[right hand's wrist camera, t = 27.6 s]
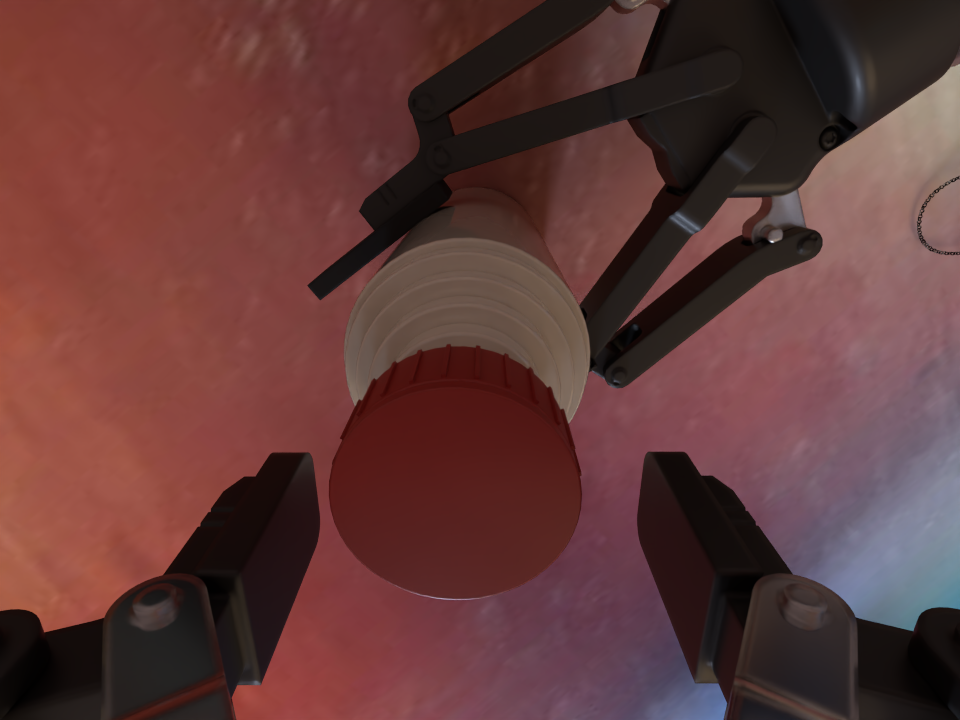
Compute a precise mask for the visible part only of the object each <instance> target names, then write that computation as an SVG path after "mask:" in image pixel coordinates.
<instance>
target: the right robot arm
mask: <svg viewBox="0 0 960 720" xmlns="http://www.w3.org/2000/svg"><path fill="white" fill-rule="evenodd" d="M637 527H638V535H639V540H640V544H641V547H642V549H643V552H644V554H645V557H646V559H647V562H648V564H649V567H650V570H651V572H652V575H653V577H654V580H655V582H656V585H657V587H658V590H659V592H660V595H661V598H662V600H663V603H664V605H665V608H666V610H667V613H668V615H669V618H670V620H671V623H672V626H673V628H674V631H675V633H676V636H677V638H678V641H679V643H680V646H681V648H682V651H683V653H684V656H685V659H686V661H687V664H688V666H689V669H690V671H691V674H692V676H693V679H694V681H695V683H719V685H720V688H721V690H722V692H723V695H724V697H725V699H726V701H727V707H726V711H725V716H724V720H960V610H959V609H953V608H943V607H938V608H931V609H928V610H925V611H924V612H922V613H921V615H920V616H919V618H918V620H917V623H916V626H915V628H914V631H909V630H905V629H901V628H897V627H892V626H888V625H884V624H880V623H875V622H871V621H867V620H863V619H859V618H855V615H854V613H853V611H852V610H851V608H850V607H849V606H848V604H847V603H846V602H845V601H844V600H843V599H842V598H841V597H839V596H838V595H837V594H836V593H834V592H833V591H832V590H830V589H829V588H827V587H825V586H823V585H822V584H820V583H817V582H815V581H813V580H810V579H808V578H805V577H801V576H798V575H793V574H792V572H791V571H790V569H789V568H788V567H787V565H786V564H785V562H784V561H783V560H782V558H781V557H780V555H779V554H778V553H777V551H776V550H775V548H774V547H773V546H772V544H771V543H770V541H769V540H768V539H767V537H766V536H765V534H764V533H763V532H762V530H761V529H760V527H759V526H756V522H755V520H754V519H753V518H752V516H751V515H750V513H749V512H748V511H746V510H745V506H744V505H743V504H742V502H741V501H740V499H739V498H738V497H737V495H736V494H735V492H734V491H733V490H732V489H730V488H729V487H727V486H726V485H725V484H723V483H722V482H720V481H719V480H718V479H716V478H715V477H713V476H701V475H700V473H699V472H698V470H697V469H696V467H695V465H694V464H693V462H692V461H691V459H690V458H689V456H688V455H687V454H686V453H685V452H648V453H647V454H646V456H645V459H644V465H643V473H642V481H641V489H640V497H639V505H638V514H637ZM319 530H320V513H319V505H318V497H317V489H316V481H315V473H314V465H313V459H312V456H311V454H310V453H271V454H270V455H269V457H268V458H267V460H266V461H265V463H264V464H263V466H262V467H261V469H260V470H259V472H258V473H257V475H256V477H243V478H242V479H240V480H239V481H237V482H236V483H235V484H233V485H232V486H230V487H229V488H228V489H226V490H225V491H223V493H222V494H221V496H220V497H219V498H218V500H217V501H216V502H215V504H214V505H213V507H212V508H211V512H208V514H207V515H206V516H205V518H204V519H203V521H202V522H201V526H200V527H197V529H196V530H195V532H194V533H193V534H192V536H191V537H190V539H189V540H188V541H187V543H186V544H185V545H184V547H183V548H182V550H181V551H180V552H179V554H178V555H177V557H176V558H175V559H174V561H173V562H172V563H171V565H170V566H169V568H168V569H167V570H166V572H165V573H164V575H162V576H159V577H155V578H152V579H150V580H147V581H145V582H143V583H140V584H138V585H137V586H135V587H133V588H131V589H130V590H128V591H127V592H126V593H124V594H123V595H122V596H121V597H119V598H118V599H117V600H116V601H115V602H114V603H113V604H112V606H111V607H110V608H109V610H108V611H107V613H106V615H105V618H102V619H99V620H95V621H91V622H87V623H83V624H79V625H74V626H70V627H66V628H62V629H57V630H53V631H49V632H45V633H44V630H43V628H42V625H41V622H40V620H39V618H38V617H37V615H35V614H34V613H32V612H30V611H27V610H20V609H15V610H4V611H0V720H236V716H235V711H234V707H233V702H232V696H233V693H234V691H235V689H236V687H237V685H261V683H262V681H263V678H264V676H265V673H266V671H267V668H268V666H269V663H270V661H271V658H272V656H273V653H274V651H275V648H276V646H277V643H278V641H279V638H280V636H281V633H282V631H283V628H284V626H285V623H286V621H287V618H288V616H289V613H290V611H291V608H292V606H293V603H294V601H295V598H296V596H297V593H298V591H299V588H300V586H301V583H302V581H303V578H304V576H305V573H306V571H307V568H308V566H309V563H310V561H311V558H312V556H313V553H314V551H315V548H316V545H317V542H318V537H319Z"/></svg>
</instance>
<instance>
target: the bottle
mask: <svg viewBox="0 0 960 720" xmlns="http://www.w3.org/2000/svg"><path fill="white" fill-rule="evenodd" d="M452 192H453V193H452V195H451V197H450V199H449V200H448V201H447V202H445V203H444V204H443V205H441V206H440V207H439V208H438V209H436V210H435V211H434V212H433V213H431V214H430V215H429V216H427V217H426V218H425V219H424V220H422V221H421V222H419V223H418V224H417V225H416V226H415V227H413V228H412V229H411V230H409V232H408V233H407V234H406V235H405V237H404V238H403V239H402V240H401V242H400V243H399V244H398V245H397V247H396V248H395V249H394V250H393V252H392V253H391V254H390V256H389V257H388V258H387V259H386V261H385V262H384V263H383V264H382V266H381V267H380V268H379V269H378V271H377V272H376V273H375V274H374V276H373V277H372V278H371V279H370V281H369V282H368V283H367V284H366V286H365V287H364V289H363V290H362V292H361V293H360V295H359V296H358V298H357V300H356V302H355V304H354V307H353V309H352V311H351V313H350V317H349V320H348V323H347V326H346V332H345V339H344V362H345V370H346V378H347V384H348V388H349V391H350V395H351V398H352V400H353V403H354V405H355V406H356V404H357V402H358V400H359V399H360V400H362V399H363V397H364V396H365V394H366V392H367V390H368V387H369V385H370V383H371V381H372V380H373V379H374V378H375V379H376V380H377V379H378V378H379V377H380V376H381V375H382V374H383V373H384V372H385V371H386V370H388V369H389V368H390V367H391V365H392V363H393V362H394V361H396V362H397V363H398V362H400V361H402V360H403V359H405V358H407V357H409V356H412V355H414V354H417V351H418V350H421V349H422V351H426V350H430V349H434V348H441V347H446V345H447V344H451V346H467V347H475V348H476V345H478V346H481V349H486V350H490V351H494V352H497V353H499V354H502V355H504V354H505V353H506V354H508V355H509V358H511V359H513V360H515V361H517V362H519V363H520V364H522V365H523V366H525V367H526V368H528V369H529V367H531V368H532V369H533V371H534V374H535V375H536V376H537V377H538V378H539V379H540V380H542V381H543V383H544V384H545V385H546V386H547V387H549V386H550V387H551V388H552V390H553V394H554V398H555V399H556V401H557V403H558V404H559V407H560V409H564V411H565V414H566V417H567V421H568V424H569V423H570V421H571V420H572V418H573V416H574V414H575V412H576V410H577V408H578V406H579V404H580V401H581V398H582V395H583V392H584V388H585V385H586V382H587V378H588V373H589V367H590V341H589V334H588V330H587V326H586V321H585V319H584V316H583V314H582V311H581V309H580V306H579V304H578V303H577V301H576V299H575V297H574V295H573V293H572V292H571V290H570V288H569V286H568V284H567V282H566V281H565V279H564V277H563V275H562V273H561V271H560V270H559V268H558V266H557V264H556V262H555V260H554V259H553V257H552V255H551V253H550V251H549V249H548V248H547V246H546V244H545V242H544V240H543V238H542V237H541V235H540V233H539V231H538V229H537V227H536V226H535V224H534V222H533V220H532V218H531V217H530V215H529V214H528V213H527V211H526V210H525V209H524V208H523V207H522V206H521V205H520V204H519V203H518V202H516V201H515V200H514V199H512V198H511V197H509V196H507V195H506V194H504V193H501V192H499V191H496V190H492V189H488V188H481V187H469V188H463V189H458V190H455V191H452Z"/></svg>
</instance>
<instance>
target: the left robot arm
mask: <svg viewBox="0 0 960 720" xmlns="http://www.w3.org/2000/svg"><path fill="white" fill-rule="evenodd" d="M644 4H653V5H656V6H657V7H658V8H660V9H661V10H660V12H659V15H658V18H657V20H656V23H655V26H654V28H653V31H652V34H651V36H650V39H649V42H648V45H647V47H646V50H645V53H644V55H643V58H642V61H641V63H640V66H639V69H638V71H637V74H636V77H635V78H632V79H629V80H626V81H623V82H620V83H617V84H614V85H611V86H608V87H605V88H602V89H599V90H595V91H592V92H589V93H586V94H583V95H580V96H577V97H574V98H570V99H567V100H564V101H561V102H558V103H555V104H552V105H549V106H546V107H542V108H539V109H536V110H533V111H530V112H527V113H524V114H521V115H518V116H514V117H511V118H508V119H505V120H502V121H499V122H496V123H493V124H489V125H486V126H483V127H480V128H477V129H474V130H471V131H468V132H465V133H461V134H458V135H455V134H454V131H453V128H452V124H451V121H450V117H449V114H450V113H452V112H453V111H455V110H456V109H458V108H460V107H461V106H463V105H464V104H466V103H467V102H469V101H470V100H472V99H474V98H475V97H477V96H478V95H480V94H481V93H483V92H484V91H486V90H487V89H489V88H491V87H492V86H494V85H495V84H497V83H498V82H500V81H501V80H503V79H505V78H506V77H508V76H509V75H511V74H512V73H514V72H515V71H517V70H519V69H520V68H522V67H523V66H525V65H526V64H528V63H529V62H531V61H533V60H534V59H536V58H537V57H539V56H540V55H542V54H543V53H545V52H547V51H548V50H550V49H551V48H553V47H554V46H556V45H557V44H559V43H561V42H562V41H564V40H565V39H567V38H568V37H570V36H571V35H573V34H574V33H576V32H578V31H579V30H581V29H582V28H584V27H585V26H587V25H588V24H589V23H591V22H592V21H593V20H595V19H596V18H597V17H598V16H599V15H600V14H601V13H602V12H603V11H604V10H605V9H606V8H607V7H608V6H609V5H610V6H611V7H612V8H613V9H614V10H615V11H616V12H617V13H620V14H629V13H632V12H633V11H634V10H636V9H637V8H638V7H640V6H642V5H644ZM959 64H960V0H546V1H545V2H543V3H542V4H540V5H539V6H537V7H536V8H534V9H533V10H531V11H530V12H528V13H527V14H525V15H524V16H522V17H521V18H519V19H518V20H516V21H515V22H513V23H512V24H510V25H509V26H507V27H506V28H504V29H503V30H501V31H500V32H498V33H497V34H495V35H494V36H492V37H491V38H489V39H488V40H486V41H485V42H483V43H482V44H480V45H479V46H477V47H476V48H474V49H473V50H471V51H470V52H468V53H467V54H465V55H464V56H462V57H461V58H459V59H457V60H456V61H454V62H453V63H451V64H450V65H448V66H447V67H445V68H444V69H442V70H441V71H439V72H438V73H436V74H435V75H433V76H432V77H430V78H429V79H427V80H426V81H424V82H423V83H421V84H420V85H418V86H417V87H415V88H414V89H413V90H412V92H411V93H410V96H409V98H408V107H409V110H410V112H411V114H412V115H413V118H414V122H415V125H416V128H417V131H418V134H419V138H420V148H419V152H418V154H417V156H416V157H415V158H414V159H413V160H412V161H411V162H410V163H409V164H407V165H406V166H405V167H404V168H403V169H401V170H400V171H399V172H398V173H396V174H395V175H394V176H393V177H392V178H390V179H389V180H388V181H387V182H385V183H384V184H383V185H382V186H381V187H379V188H378V189H377V190H376V191H374V192H373V193H372V194H371V195H369V196H368V197H367V198H366V199H365V200H364V202H363V204H362V206H361V208H360V210H359V212H360V213H361V214H362V216H363V217H364V218H365V219H366V221H367V222H368V223H369V224H370V226H371V227H372V228H373V229H374V232H373V233H371V234H370V235H369V236H368V237H366V238H365V239H364V240H362V241H361V242H360V243H359V244H357V245H356V246H355V247H354V248H352V249H351V250H350V251H349V252H347V253H346V254H345V255H344V256H342V257H341V258H340V259H339V260H337V261H336V262H335V263H334V264H332V265H331V266H330V267H329V268H327V269H326V270H325V271H324V272H323V273H321V274H320V275H319V276H318V277H317V278H316V279H314V280H313V281H312V282H311V283H310V284H309V285H307V286H308V287H309V288H310V289H311V290H312V292H313V293H314V294H315V295H316V296H317V297H318V298H319V300H321V299H323V298H324V297H325V296H326V295H328V294H329V293H330V292H331V291H333V290H334V289H335V288H337V287H338V286H339V285H340V284H342V283H343V282H344V281H346V280H347V279H348V278H349V277H351V276H352V275H353V274H355V273H356V272H357V271H358V270H360V269H361V268H362V267H363V266H365V265H366V264H367V263H369V262H370V261H371V260H372V259H374V258H375V257H376V256H378V255H379V254H380V253H381V252H383V251H384V250H385V249H386V248H388V247H389V246H390V245H392V244H393V243H394V242H395V241H397V240H398V239H399V238H401V237H402V236H403V235H404V234H406V233H407V232H408V231H409V230H411V229H412V228H413V227H415V226H416V225H417V224H418V223H419V222H421V221H422V220H424V219H425V218H426V217H427V216H429V215H430V214H431V213H433V212H434V211H435V210H436V209H438V208H439V207H440V206H441V205H443V204H444V203H445V202H447V201H448V200H449V199H450V197H451V195H452V193H453V192H452V191H451V190H450V188H449V187H448V185H447V184H446V183H445V181H444V180H443V178H445V177H446V176H447V175H448V174H451V173H454V172H457V171H461V170H464V169H467V168H470V167H473V166H477V165H480V164H483V163H486V162H489V161H493V160H496V159H499V158H502V157H505V156H509V155H512V154H515V153H518V152H521V151H525V150H528V149H531V148H534V147H537V146H540V145H544V144H547V143H550V142H553V141H556V140H560V139H563V138H566V137H569V136H572V135H576V134H579V133H582V132H585V131H588V130H592V129H595V128H598V127H601V126H604V125H608V124H611V123H615V122H618V121H622V120H626V119H627V120H628V122H629V123H630V125H631V127H632V128H633V130H634V132H635V133H636V135H637V136H638V137H639V138H640V139H641V140H642V141H643V142H644V143H645V144H646V145H647V146H649V147H650V148H651V150H652V152H653V156H654V159H655V163H656V167H657V170H658V172H659V173H660V175H661V177H662V178H663V180H664V182H665V183H666V184H665V185H664V186H663V188H662V189H661V190H660V192H659V193H658V194H657V196H656V197H655V199H654V201H653V203H652V206H651V209H650V211H649V212H648V214H647V215H646V216H645V218H644V219H643V220H642V222H641V223H640V224H639V226H638V227H637V228H636V230H635V231H634V233H633V234H632V235H631V237H630V238H629V239H628V241H627V242H626V243H625V245H624V246H623V247H622V249H621V250H620V251H619V253H618V254H617V255H616V257H615V258H614V259H613V261H612V262H611V263H610V265H609V266H608V268H607V269H606V270H605V272H604V273H603V274H602V276H601V277H600V278H599V280H598V281H597V282H596V284H595V285H594V286H593V288H592V289H591V290H590V292H589V293H588V294H587V296H586V297H585V298H584V300H583V301H582V302H581V304H580V305H579V306H580V309H581V311H582V314H583V316H584V319H585V321H586V326H587V330H588V334H589V341H590V367H589V372H590V371H592V372H594V373H595V374H597V375H599V376H600V377H602V378H603V379H605V380H606V382H607V384H608V385H610V386H611V387H614V388H623V387H625V386H627V385H628V384H630V383H631V382H632V381H633V380H635V379H636V378H637V377H639V376H640V375H641V374H642V373H644V372H645V371H646V370H648V369H649V368H650V367H651V366H653V365H654V364H655V363H656V362H658V361H659V360H660V359H662V358H663V357H664V356H665V355H667V354H668V353H669V352H671V351H672V350H673V349H674V348H676V347H677V346H678V345H680V344H681V343H682V342H683V341H685V340H686V339H687V338H688V337H690V336H691V335H692V334H694V333H695V332H696V331H697V330H699V329H700V328H701V327H703V326H704V325H705V324H706V323H708V322H709V321H710V320H711V319H713V318H714V317H715V316H717V315H718V314H719V313H720V312H722V311H723V310H724V309H726V308H727V307H728V306H729V305H731V304H732V303H733V302H735V301H736V300H737V299H738V298H740V297H741V296H742V295H743V294H745V293H746V292H747V291H749V290H750V289H751V288H752V287H754V286H755V285H756V284H758V283H759V282H760V281H761V280H763V279H764V278H765V277H767V276H769V275H771V274H774V273H776V272H779V271H782V270H784V269H787V268H789V267H792V266H794V265H797V264H800V263H802V262H805V261H807V260H810V259H812V258H813V257H815V256H816V255H817V254H818V253H819V252H820V250H821V247H822V237H821V235H820V234H819V233H818V232H817V231H815V230H812V229H809V228H806V225H805V220H804V215H803V211H802V206H801V202H800V197H799V192H798V188H799V187H800V186H801V185H802V184H803V183H804V182H805V181H806V180H807V178H808V177H809V175H810V173H811V172H812V170H813V169H814V167H815V166H816V165H817V163H818V162H819V161H820V160H821V159H822V158H823V157H824V156H825V155H826V154H827V153H829V152H830V151H832V150H833V149H835V148H837V147H838V146H840V145H842V144H843V143H845V142H847V141H848V140H850V139H852V138H853V137H855V136H856V135H858V134H859V133H861V132H862V131H864V130H865V129H867V128H868V127H869V126H871V125H872V124H874V123H875V122H877V121H878V120H880V119H881V118H883V117H884V116H886V115H887V114H889V113H890V112H892V111H893V110H895V109H896V108H898V107H899V106H901V105H902V104H904V103H905V102H906V101H908V100H909V99H911V98H912V97H914V96H915V95H917V94H918V93H920V92H921V91H923V90H924V89H926V88H927V87H929V86H930V85H932V84H933V83H935V82H936V81H937V80H939V79H940V78H941V77H942V76H943V75H944V74H945V73H946V72H947V70H948V69H949V68H950V67H953V66H956V65H959ZM746 197H762V204H761V207H760V209H759V210H758V212H757V213H756V214H755V215H753V216H752V217H750V218H749V219H748V220H747V221H746V222H745V223H744V224H743V227H742V228H743V229H742V235H740V236H738V237H736V238H734V239H732V240H731V241H729V242H727V243H726V244H724V245H723V246H721V247H720V248H719V249H717V250H716V251H715V252H714V253H712V254H711V255H710V256H709V257H707V258H706V259H705V260H704V261H703V262H701V263H700V264H699V265H698V266H696V267H695V268H694V269H693V270H692V271H690V272H689V273H688V274H687V275H685V276H684V277H683V278H682V279H681V280H679V281H678V282H677V283H676V284H674V285H673V286H672V287H671V288H670V289H668V290H667V291H666V292H665V293H663V294H662V295H661V296H660V297H659V298H657V299H656V300H655V301H654V302H652V303H651V304H650V305H649V306H648V307H646V308H645V309H644V310H643V311H641V312H640V313H639V314H638V315H637V316H635V317H634V318H633V319H632V320H630V321H629V322H628V323H627V324H625V325H624V326H623V327H622V328H621V329H619V328H620V326H621V325H622V324H623V323H624V321H625V320H626V319H627V317H628V316H629V315H630V314H631V312H632V311H633V310H634V308H635V307H636V306H637V305H638V303H639V302H640V301H641V300H642V298H643V297H644V296H645V294H646V293H647V292H648V291H649V289H650V288H651V287H652V286H653V284H654V283H655V282H656V280H657V279H658V278H659V277H660V275H661V274H662V273H663V271H664V270H665V269H666V268H667V266H668V265H669V264H670V263H671V261H672V260H673V259H674V257H675V256H676V255H677V254H678V252H679V251H680V250H681V248H682V247H683V246H684V245H685V243H686V242H687V241H688V240H689V238H690V237H691V236H692V235H693V234H695V233H696V232H698V231H700V230H701V229H703V228H704V227H705V226H706V224H707V223H708V222H709V221H710V220H711V218H712V217H713V216H714V214H715V213H716V212H717V211H718V209H719V208H720V207H721V206H722V204H723V203H724V202H725V200H726V199H727V198H746ZM618 329H619V330H618ZM617 330H618V331H617ZM616 331H617V332H616Z"/></svg>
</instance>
